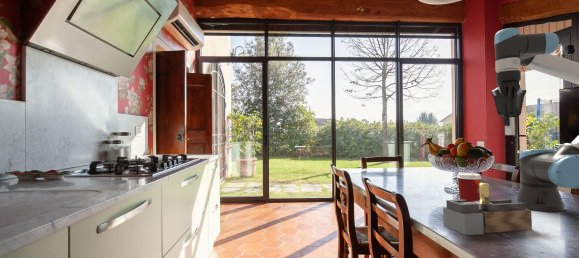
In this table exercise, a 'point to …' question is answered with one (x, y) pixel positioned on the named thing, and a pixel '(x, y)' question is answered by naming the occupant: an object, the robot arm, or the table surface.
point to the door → (506, 216)
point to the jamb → (463, 217)
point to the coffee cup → (469, 186)
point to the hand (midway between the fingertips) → (510, 134)
